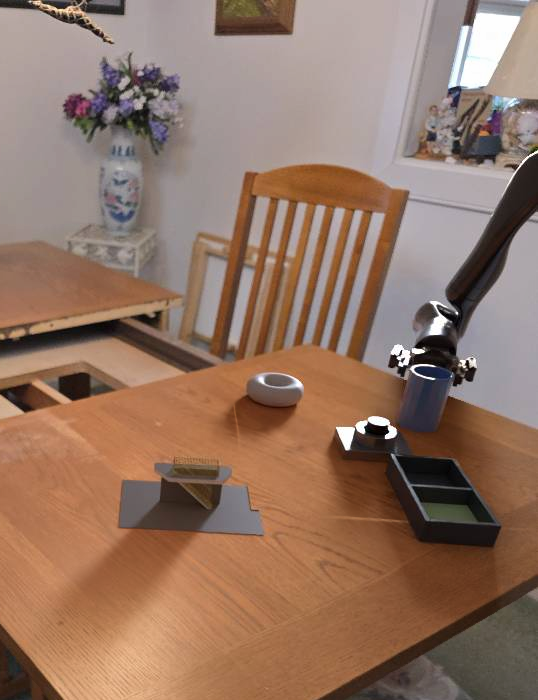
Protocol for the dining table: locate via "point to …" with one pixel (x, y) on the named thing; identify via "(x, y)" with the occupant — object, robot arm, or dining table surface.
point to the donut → (275, 389)
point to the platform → (189, 500)
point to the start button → (377, 426)
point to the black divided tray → (441, 501)
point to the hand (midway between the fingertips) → (429, 376)
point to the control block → (369, 444)
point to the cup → (424, 398)
